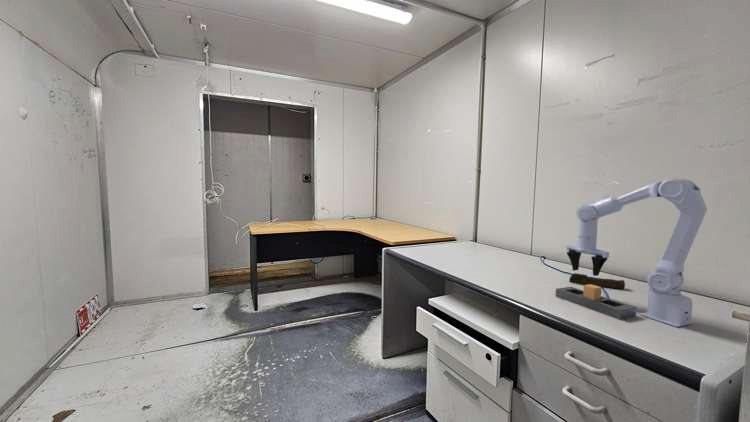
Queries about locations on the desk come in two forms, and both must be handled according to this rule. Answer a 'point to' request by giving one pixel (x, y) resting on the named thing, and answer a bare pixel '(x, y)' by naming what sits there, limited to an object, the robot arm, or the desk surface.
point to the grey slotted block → (597, 303)
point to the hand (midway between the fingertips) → (585, 272)
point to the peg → (592, 292)
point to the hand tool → (596, 281)
